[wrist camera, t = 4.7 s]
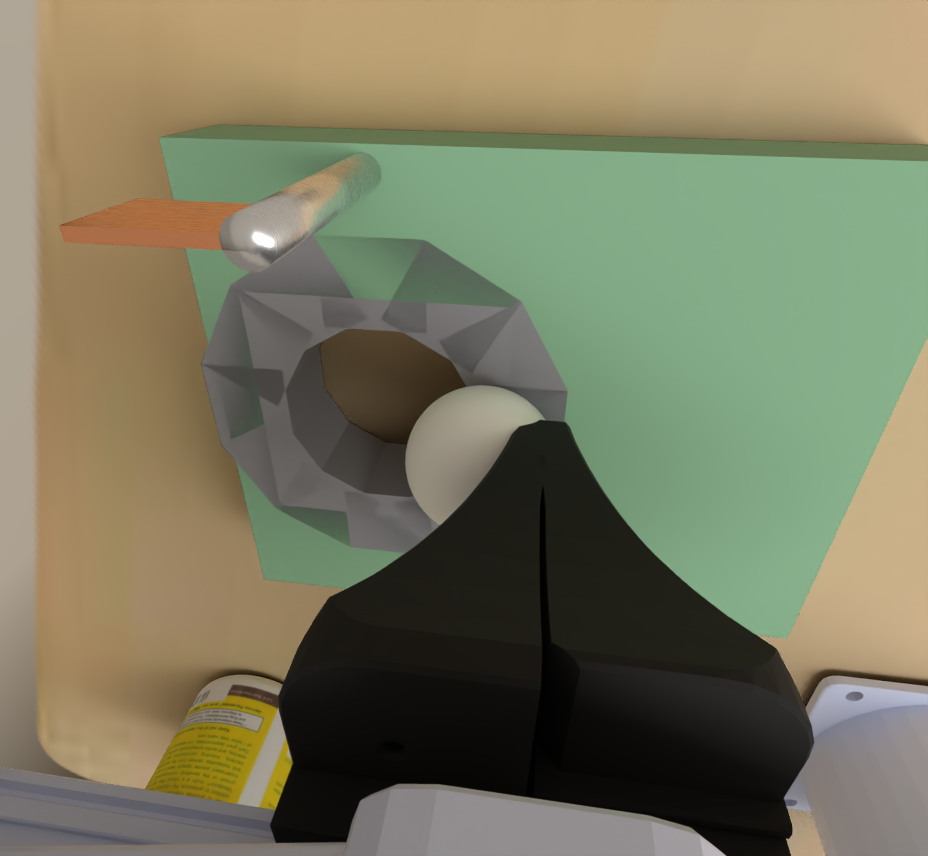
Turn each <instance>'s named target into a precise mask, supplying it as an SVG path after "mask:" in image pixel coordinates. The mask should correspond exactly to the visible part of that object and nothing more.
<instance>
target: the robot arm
mask: <svg viewBox="0 0 928 856" xmlns="http://www.w3.org/2000/svg"><path fill="white" fill-rule="evenodd" d="M278 703H279V713H280V717H281V721H282V725H283V729H284V732H285V736H286V740H287V744H288V747H289V751H290V755H291V759H292V762H293V763H292V766H291V769H290V772H289V774H288V777H287V780H286V782H285V785H284V788H283V791H282V793H281V796H280V799H279V801H278V804H277V807H276V810H273V809H266V808H260V807H253V806H247V805H241V804H234V803H228V802H222V801H215V800H209V799H203V798H196V797H190V796H183V795H177V794H171V793H164V792H158V791H152V790H145V789H139V788H133V787H126V786H120V785H113V784H107V783H101V782H94V781H88V780H81V779H75V778H68V777H62V776H56V775H49V774H43V773H37V772H31V771H24V770H18V769H11V768H4V767H0V856H791V854H790V851H789V847H788V844H787V841H786V838H787V839H789V838H790V837H791V835H792V823H791V820H790V816H789V813H788V810H787V809H794V810H801V811H808V812H811V813H812V816H813V819H814V822H815V825H816V828H817V831H818V834H819V837H820V840H821V843H822V846H823V849H824V852H825V855H826V856H928V686H922V685H913V684H905V683H897V682H888V681H880V680H871V679H863V678H854V677H846V676H829V677H826V678H824V679H822V680H821V682H820V683H819V684H818V686H817V688H816V690H815V691H814V693H813V695H812V697H811V699H810V701H809V702H808V704H807V706H806V708H805V706H804V703H803V701H802V698H801V696H800V694H799V692H798V690H797V688H796V685H795V683H794V681H793V679H792V677H791V675H790V673H789V672H788V670H787V668H786V666H785V664H784V662H783V660H782V658H781V656H780V654H779V652H778V650H777V649H776V648H775V647H773V646H772V645H770V644H769V643H767V642H766V641H764V640H763V639H761V638H760V637H758V636H757V635H755V634H754V633H752V632H751V631H749V630H748V629H746V628H745V627H744V626H742V625H741V624H739V623H738V622H736V621H735V620H733V619H732V618H730V617H729V616H727V615H726V614H724V613H723V612H722V611H720V610H719V609H718V608H717V607H715V606H714V605H713V604H711V603H710V602H709V601H708V600H706V599H705V598H704V597H702V596H701V595H700V594H699V593H697V592H696V591H695V590H694V589H692V588H691V587H690V586H689V585H688V584H687V583H685V582H684V581H683V580H682V579H681V578H680V577H679V576H677V575H676V574H675V573H674V572H673V571H672V570H671V569H670V568H669V567H668V566H667V565H666V564H665V563H663V562H662V561H661V560H660V559H659V558H658V557H657V556H656V555H655V554H654V553H653V552H652V551H651V550H650V549H649V548H648V547H647V546H646V545H645V544H644V542H643V541H642V540H641V539H640V538H639V537H638V536H637V534H636V533H635V532H634V531H633V530H632V529H631V527H630V526H629V525H628V524H627V522H626V521H625V520H624V519H623V517H622V516H621V515H620V513H619V512H618V511H617V509H616V508H615V507H614V505H613V504H612V502H611V501H610V500H609V498H608V497H607V495H606V494H605V492H604V491H603V489H602V488H601V486H600V485H599V483H598V481H597V480H596V478H595V476H594V475H593V473H592V471H591V470H590V468H589V466H588V465H587V463H586V461H585V459H584V457H583V455H582V453H581V451H580V449H579V447H578V445H577V443H576V441H575V439H574V436H573V434H572V431H571V428H570V427H569V425H568V424H567V423H566V422H561V421H549V420H539V421H537V422H535V423H531V424H527V425H523V426H519V427H518V428H517V429H516V430H515V431H514V432H513V433H512V434H511V436H510V438H509V440H508V442H507V444H506V446H505V447H504V449H503V451H502V452H501V454H500V455H499V457H498V458H497V460H496V461H495V463H494V464H493V466H492V467H491V469H490V470H489V472H488V473H487V474H486V476H485V477H484V478H483V479H482V481H481V482H480V483H479V484H478V485H477V487H476V488H475V489H474V490H473V492H472V493H471V494H470V495H469V496H468V498H467V499H466V500H465V501H464V502H463V503H462V504H461V505H460V506H459V507H458V508H457V509H456V510H455V511H454V512H453V513H452V514H451V515H450V516H449V517H448V518H447V519H446V520H445V521H444V522H443V523H442V524H441V525H440V526H438V527H437V528H436V529H435V530H434V531H433V532H432V533H430V534H429V535H428V536H427V537H426V538H425V539H423V540H422V541H421V542H420V543H418V544H417V545H416V546H414V547H413V548H412V549H410V550H409V551H408V552H406V553H405V554H403V555H402V556H400V557H399V558H397V559H396V560H394V561H393V562H392V563H390V564H389V565H387V566H386V567H384V568H383V569H381V570H380V571H378V572H376V573H375V574H373V575H372V576H370V577H368V578H366V579H364V580H362V581H360V582H358V583H356V584H355V585H353V586H351V587H349V588H347V589H345V590H343V591H341V592H339V593H337V594H335V595H333V596H331V597H330V598H329V599H328V600H327V601H326V603H325V604H324V606H323V607H322V609H321V610H320V612H319V613H318V615H317V616H316V618H315V619H314V621H313V623H312V625H311V626H310V628H309V630H308V631H307V633H306V634H305V636H304V638H303V640H302V642H301V644H300V645H299V647H298V649H297V652H296V654H295V656H294V659H293V661H292V664H291V666H290V668H289V671H288V673H287V676H286V678H285V681H284V683H283V685H282V688H281V690H280V693H279V695H278Z"/></svg>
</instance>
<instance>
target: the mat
mask: <svg viewBox="0 0 928 856" xmlns="http://www.w3.org/2000/svg"><path fill="white" fill-rule="evenodd" d="M159 140H160V144H161V149H162V153H163V157H164V161H165V165H166V170H167V174H168V178H169V182H170V186H171V191H172V195H173V199H174V200H179V201H202V202H225V203H248V204H254V203H256V202H258V201H260V200H262V199H264V198H266V197H268V196H270V195H272V194H274V193H276V192H278V191H280V190H282V189H284V188H287V187H289V186H291V185H293V184H295V183H297V182H299V181H301V180H303V179H305V178H307V177H309V176H311V175H313V174H315V173H317V172H319V171H321V170H323V169H325V168H327V167H329V166H331V165H333V164H335V163H337V162H340V161H342V160H344V159H346V158H348V157H350V156H352V155H354V154H356V153H367V154H369V155H371V156H372V157H374V158H375V159H376V160H377V162H378V163H379V165H380V168H381V181H380V183H379V185H378V186H377V188H376V189H374V190H373V191H372V192H370V193H369V194H367V195H366V196H365V197H363V198H362V199H361V200H359V201H358V202H357V203H355V204H354V205H353V206H351V207H350V208H348V209H347V210H346V211H344V212H343V213H342V214H340V215H339V216H338V217H336V218H335V219H334V220H332V221H331V222H329V223H328V224H327V225H325V226H324V227H323V228H321V229H320V230H319V231H317V232H316V233H315V234H313V235H312V236H310V237H309V238H308V239H306V240H305V241H304V242H302V243H301V244H300V245H298V246H297V247H296V248H294V249H293V250H291V251H290V252H289V253H287V254H286V255H285V256H283V257H282V258H281V259H279V260H278V261H277V262H275V263H274V264H272V265H271V266H270V267H268V268H267V269H265V270H263V271H260V272H248V271H245V270H242V269H240V268H238V267H237V266H235V265H234V264H233V263H232V262H231V261H230V260H229V259H228V258H227V257H226V255H225V254H224V252H223V250H208V249H189V248H185V249H186V254H187V258H188V262H189V266H190V270H191V275H192V279H193V283H194V287H195V291H196V296H197V300H198V304H199V308H200V312H201V317H202V321H203V325H204V329H205V333H206V338H207V342H208V346H207V349H206V352H205V354H204V357H203V360H202V362H201V366H202V370H203V374H204V378H205V382H206V386H207V390H208V394H209V398H210V402H211V406H212V410H213V414H214V418H215V422H216V426H217V430H218V434H219V438H220V442H221V445H222V446H223V447H224V449H225V450H226V451H227V452H228V453H229V454H230V456H231V457H232V458H233V459H234V460H235V461H236V464H237V468H238V472H239V476H240V480H241V485H242V489H243V493H244V497H245V501H246V506H247V510H248V514H249V518H250V522H251V527H252V531H253V535H254V539H255V543H256V548H257V552H258V556H259V560H260V564H261V569H262V573H263V577H264V579H266V580H274V581H283V582H292V583H301V584H310V585H319V586H327V587H336V588H345V589H347V588H349V587H351V586H353V585H355V584H356V583H358V582H360V581H362V580H364V579H366V578H368V577H370V576H372V575H373V574H375V573H376V572H378V571H380V570H381V569H383V568H384V567H386V566H387V565H389V564H390V563H392V562H393V561H394V560H396V559H397V558H399V557H400V556H402V555H403V554H405V553H406V552H408V551H409V550H410V549H412V548H413V547H414V546H416V545H417V544H418V543H420V542H421V541H422V540H423V539H425V538H426V537H427V536H428V535H429V534H430V533H432V532H433V531H434V530H435V529H436V528H437V527H438V526H440V525H438V524H437V523H436V522H435V521H433V520H432V519H431V518H430V517H429V516H428V515H427V514H426V513H425V512H424V511H423V510H422V509H421V507H420V506H419V504H418V503H417V501H416V499H415V498H414V496H413V494H412V492H411V489H410V487H409V483H408V480H407V474H406V467H405V459H406V449H407V444H397V443H386V442H384V441H383V440H381V439H379V438H377V437H375V436H374V435H372V434H370V433H368V432H366V431H365V430H363V429H361V428H359V427H357V426H356V425H354V424H352V423H350V422H349V421H348V420H347V418H346V417H345V415H344V414H343V413H342V411H341V410H340V409H339V407H338V406H337V404H336V403H335V402H334V400H333V399H332V398H331V396H330V395H329V393H328V392H327V391H326V389H325V387H324V379H323V372H322V364H321V356H320V346H321V344H322V342H323V341H324V340H326V339H328V338H330V337H332V336H334V335H336V334H338V333H340V332H342V331H344V330H345V329H347V328H349V329H364V330H379V331H395V332H403V333H405V334H407V335H408V336H410V337H412V338H413V339H415V340H417V341H418V342H420V343H422V344H423V345H425V346H427V347H428V348H430V349H432V350H433V351H435V352H437V353H438V354H440V355H442V356H443V357H445V358H447V359H448V360H450V361H451V362H452V363H453V365H454V367H455V368H456V370H457V372H458V373H459V375H460V377H461V378H462V380H463V382H464V383H465V385H466V387H468V386H477V385H484V386H495V387H500V388H503V389H506V390H509V391H512V392H514V393H516V394H518V395H519V396H521V397H523V398H524V399H526V400H527V401H528V402H530V403H531V404H532V405H533V406H534V407H535V408H536V409H537V410H538V411H539V412H540V413H541V415H542V416H543V417H544V419H545V420H549V421H561V422H566V423H567V424H568V425H569V427H570V428H571V431H572V434H573V436H574V439H575V441H576V443H577V445H578V447H579V449H580V451H581V453H582V455H583V457H584V459H585V461H586V463H587V465H588V466H589V468H590V470H591V471H592V473H593V475H594V476H595V478H596V480H597V481H598V483H599V485H600V486H601V488H602V489H603V491H604V492H605V494H606V495H607V497H608V498H609V500H610V501H611V502H612V504H613V505H614V507H615V508H616V509H617V511H618V512H619V513H620V515H621V516H622V517H623V519H624V520H625V521H626V522H627V524H628V525H629V526H630V527H631V529H632V530H633V531H634V532H635V533H636V534H637V536H638V537H639V538H640V539H641V540H642V541H643V542H644V544H645V545H646V546H647V547H648V548H649V549H650V550H651V551H652V552H653V553H654V554H655V555H656V556H657V557H658V558H659V559H660V560H661V561H662V562H663V563H665V564H666V565H667V566H668V567H669V568H670V569H671V570H672V571H673V572H674V573H675V574H676V575H677V576H679V577H680V578H681V579H682V580H683V581H684V582H685V583H687V584H688V585H689V586H690V587H691V588H692V589H694V590H695V591H696V592H697V593H699V594H700V595H701V596H702V597H704V598H705V599H706V600H708V601H709V602H710V603H711V604H713V605H714V606H715V607H717V608H718V609H719V610H720V611H722V612H723V613H724V614H726V615H727V616H729V617H730V618H732V619H733V620H735V621H736V622H738V623H739V624H741V625H742V626H744V627H745V628H746V629H748V630H749V631H751V632H752V633H754V634H755V635H761V636H770V637H778V638H788V636H789V634H790V631H791V629H792V627H793V625H794V623H795V621H796V618H797V616H798V614H799V612H800V610H801V608H802V606H803V603H804V601H805V599H806V597H807V595H808V593H809V591H810V588H811V586H812V584H813V582H814V580H815V578H816V575H817V573H818V571H819V569H820V567H821V565H822V563H823V560H824V558H825V556H826V554H827V552H828V550H829V548H830V545H831V543H832V541H833V539H834V537H835V535H836V532H837V530H838V528H839V526H840V524H841V522H842V520H843V517H844V515H845V513H846V511H847V509H848V507H849V505H850V502H851V500H852V498H853V496H854V494H855V492H856V489H857V487H858V485H859V483H860V481H861V479H862V477H863V474H864V472H865V470H866V468H867V466H868V464H869V462H870V459H871V457H872V455H873V453H874V451H875V449H876V446H877V444H878V442H879V440H880V438H881V436H882V434H883V431H884V429H885V427H886V425H887V423H888V421H889V419H890V416H891V414H892V412H893V410H894V408H895V406H896V403H897V401H898V399H899V397H900V395H901V393H902V391H903V388H904V386H905V384H906V382H907V380H908V378H909V376H910V373H911V371H912V369H913V367H914V365H915V363H916V360H917V358H918V356H919V354H920V352H921V350H922V348H923V345H924V343H925V341H926V339H927V337H928V145H904V144H869V143H834V142H799V141H764V140H729V139H695V138H660V137H625V136H590V135H555V134H520V133H485V132H450V131H415V130H380V129H345V128H310V127H275V126H240V125H216V126H211V127H206V128H201V129H196V130H192V131H187V132H182V133H177V134H172V135H168V136H163V137H159Z"/></svg>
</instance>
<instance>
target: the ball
mask: <svg viewBox="0 0 928 856" xmlns="http://www.w3.org/2000/svg"><path fill="white" fill-rule="evenodd" d="M539 420H545V419H544V417H543V416H542V415H541V413H540V412H539V411H538V410H537V409H536V408H535V407H534V406H533V405H532V404H531V403H530V402H528V401H527V400H526V399H524V398H523V397H521V396H519V395H518V394H516V393H514V392H512V391H509V390H506V389H503V388H500V387H495V386H484V385H477V386H468V387H464V388H460V389H457V390H454V391H452V392H449V393H447V394H446V395H444V396H442V397H440V398H439V399H437V400H436V401H435V402H433V403H432V404H431V405H430V406H429V407H428V408H427V409H426V410H425V411H424V412H423V413H422V415H421V416H420V417H419V419H418V420H417V422H416V424H415V426H414V427H413V429H412V431H411V434H410V437H409V440H408V443H407V449H406V459H405V467H406V474H407V480H408V483H409V487H410V489H411V492H412V494H413V496H414V498H415V499H416V501H417V503H418V504H419V506H420V507H421V509H422V510H423V511H424V512H425V513H426V514H427V515H428V516H429V517H430V518H431V519H432V520H433V521H435V522H436V523H437V524H438V525H441V524H442V523H443V522H444V521H445V520H446V519H447V518H448V517H449V516H450V515H451V514H452V513H453V512H454V511H455V510H456V509H457V508H458V507H459V506H460V505H461V504H462V503H463V502H464V501H465V500H466V499H467V498H468V496H469V495H470V494H471V493H472V492H473V490H474V489H475V488H476V487H477V485H478V484H479V483H480V482H481V481H482V479H483V478H484V477H485V476H486V474H487V473H488V472H489V470H490V469H491V467H492V466H493V464H494V463H495V461H496V460H497V458H498V457H499V455H500V454H501V452H502V451H503V449H504V447H505V446H506V444H507V442H508V440H509V438H510V436H511V434H512V433H513V432H514V431H515V430H516V429H517V428H518V427H519V426H523V425H527V424H531V423H535V422H537V421H539Z"/></svg>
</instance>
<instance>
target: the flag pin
mask: <svg viewBox="0 0 928 856" xmlns="http://www.w3.org/2000/svg"><path fill="white" fill-rule="evenodd" d="M380 181H381V168H380V165H379V163H378V162H377V160H376V159H375V158H374V157H372V156H371V155H369V154H367V153H356V154H354V155H352V156H350V157H348V158H346V159H344V160H342V161H340V162H337V163H335V164H333V165H331V166H329V167H327V168H325V169H323V170H321V171H319V172H317V173H315V174H313V175H311V176H309V177H307V178H305V179H303V180H301V181H299V182H297V183H295V184H293V185H291V186H289V187H287V188H284V189H282V190H280V191H278V192H276V193H274V194H272V195H270V196H268V197H266V198H264V199H262V200H260V201H258V202H256V203H254V204H248V203H225V202H202V201H179V200H156V199H135V200H132V201H129V202H126V203H123V204H120V205H117V206H114V207H111V208H108V209H106V210H103V211H100V212H97V213H94V214H91V215H88V216H85V217H82V218H79V219H76V220H73V221H71V222H68V223H65V224H62V225H59V227H60V230H61V233H62V236H63V238H64V241H65V242H74V243H93V244H112V245H131V246H150V247H170V248H189V249H208V250H223V252H224V254H225V255H226V257H227V258H228V259H229V260H230V261H231V262H232V263H233V264H234V265H235V266H237V267H238V268H240V269H242V270H245V271H248V272H260V271H263V270H265V269H267V268H268V267H270V266H271V265H272V264H274V263H275V262H277V261H278V260H279V259H281V258H282V257H283V256H285V255H286V254H287V253H289V252H290V251H291V250H293V249H294V248H296V247H297V246H298V245H300V244H301V243H302V242H304V241H305V240H306V239H308V238H309V237H310V236H312V235H313V234H315V233H316V232H317V231H319V230H320V229H321V228H323V227H324V226H325V225H327V224H328V223H329V222H331V221H332V220H334V219H335V218H336V217H338V216H339V215H340V214H342V213H343V212H344V211H346V210H347V209H348V208H350V207H351V206H353V205H354V204H355V203H357V202H358V201H359V200H361V199H362V198H363V197H365V196H366V195H367V194H369V193H370V192H372V191H373V190H374V189H376V188H377V186H378V185H379V183H380Z"/></svg>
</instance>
